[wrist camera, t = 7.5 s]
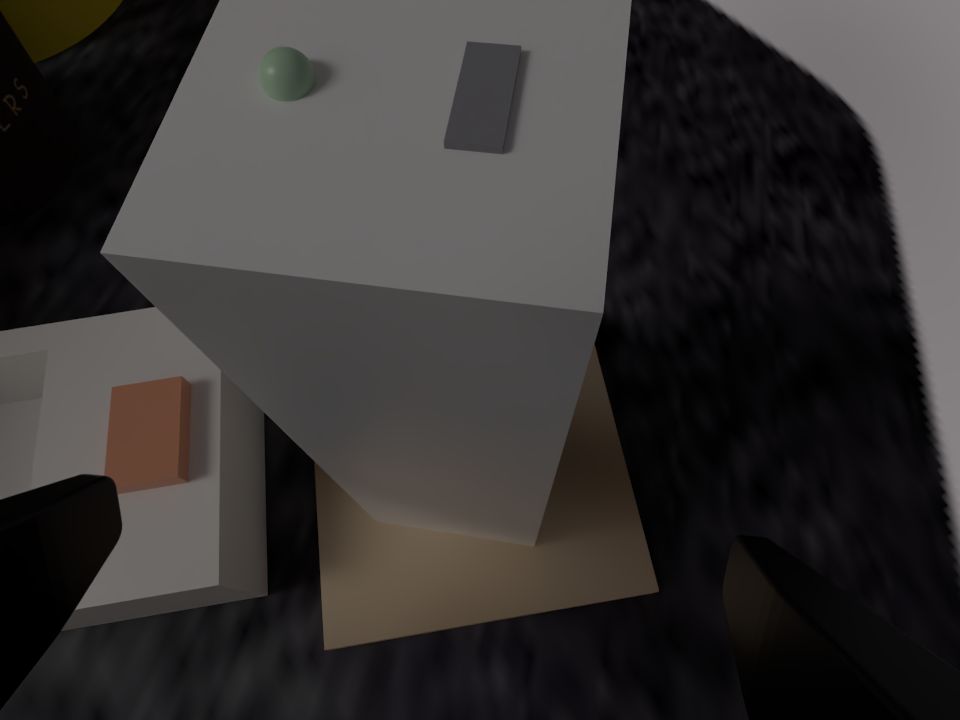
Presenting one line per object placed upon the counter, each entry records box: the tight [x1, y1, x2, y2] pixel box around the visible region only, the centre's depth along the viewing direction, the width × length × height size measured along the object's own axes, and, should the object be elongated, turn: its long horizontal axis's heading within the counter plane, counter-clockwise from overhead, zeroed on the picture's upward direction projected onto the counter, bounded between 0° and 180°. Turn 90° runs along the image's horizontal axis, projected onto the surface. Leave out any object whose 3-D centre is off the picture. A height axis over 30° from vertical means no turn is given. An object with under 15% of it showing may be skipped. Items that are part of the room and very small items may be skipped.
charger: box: [100, 0, 631, 546], centre depth 11 cm, size 4×4×12 cm
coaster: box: [314, 345, 659, 650], centre depth 17 cm, size 8×8×1 cm
